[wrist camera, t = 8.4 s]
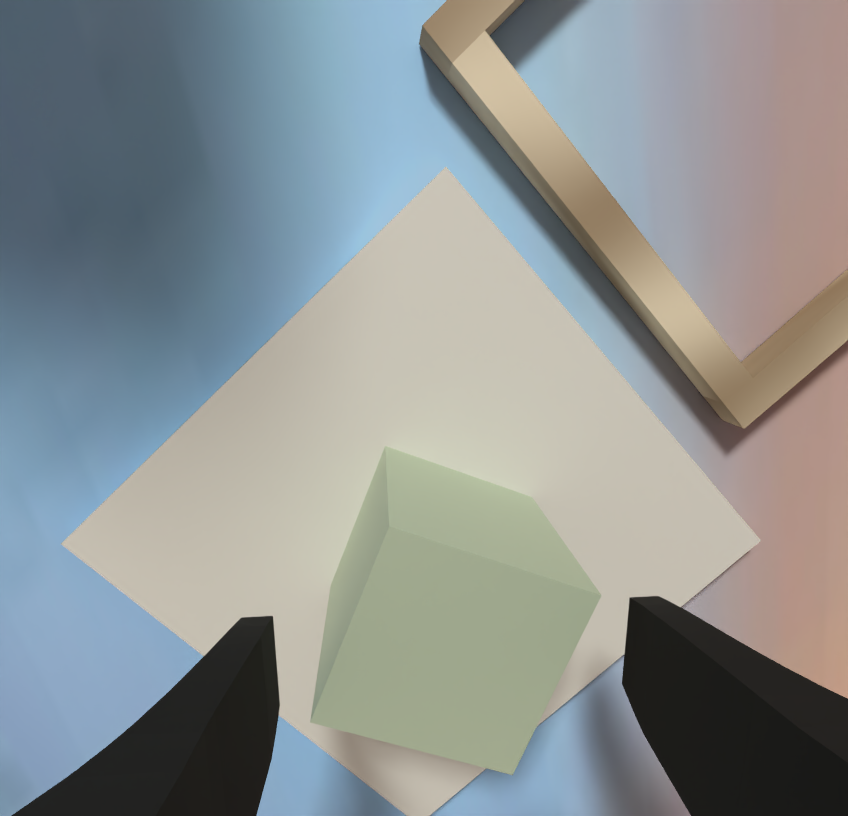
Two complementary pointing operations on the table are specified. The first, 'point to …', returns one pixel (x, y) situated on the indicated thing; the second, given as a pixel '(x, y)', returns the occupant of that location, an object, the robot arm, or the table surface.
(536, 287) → the beige mat
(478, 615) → the sage block
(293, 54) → the table surface
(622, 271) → the maple pocket frame
